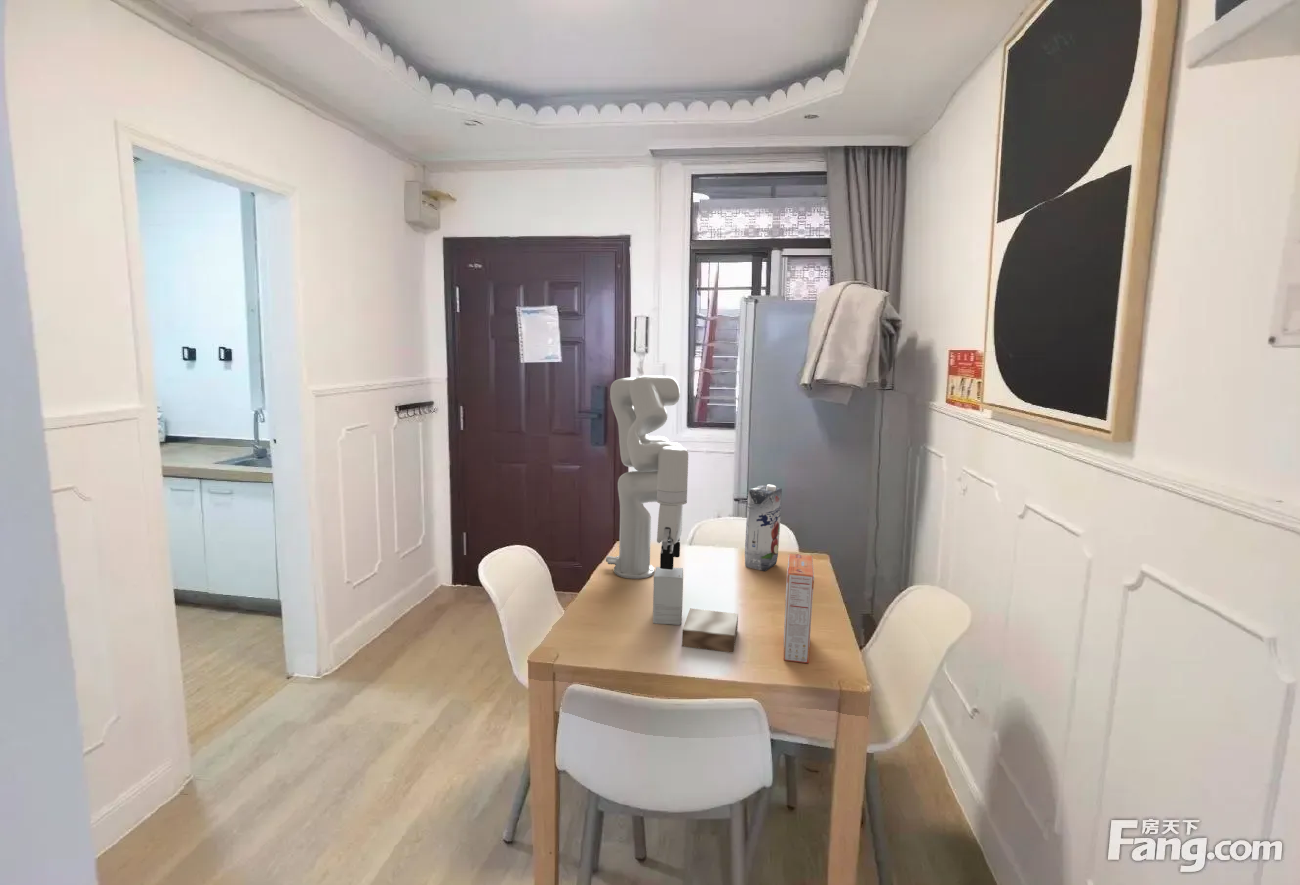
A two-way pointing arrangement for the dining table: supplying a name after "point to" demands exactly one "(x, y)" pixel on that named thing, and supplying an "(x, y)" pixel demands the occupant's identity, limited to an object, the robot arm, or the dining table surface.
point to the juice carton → (762, 527)
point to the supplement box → (668, 596)
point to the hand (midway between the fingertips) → (670, 562)
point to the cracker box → (798, 608)
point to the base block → (710, 630)
